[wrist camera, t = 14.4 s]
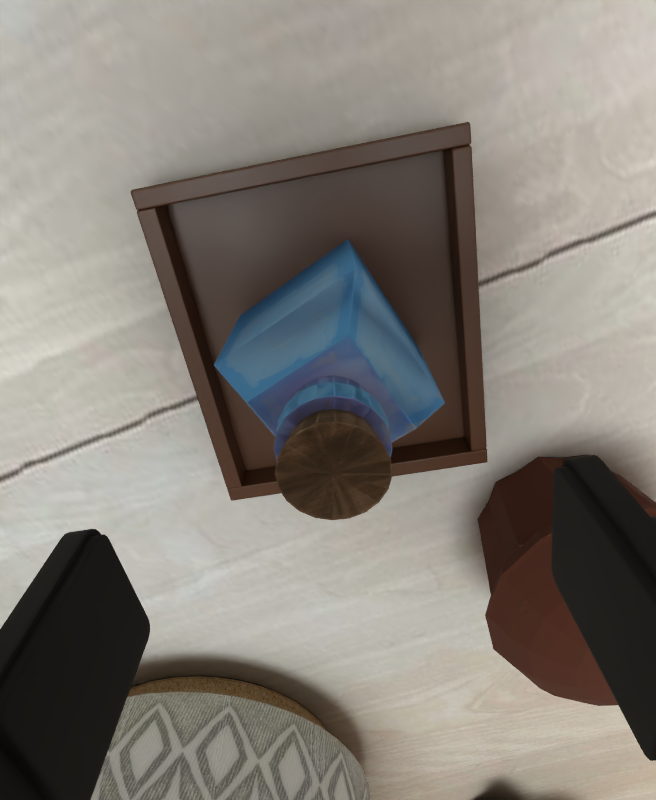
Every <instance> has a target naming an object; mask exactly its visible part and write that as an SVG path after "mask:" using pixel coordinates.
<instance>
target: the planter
mask: <svg viewBox="0 0 656 800" xmlns="http://www.w3.org/2000/svg"><path fill="white" fill-rule="evenodd" d="M91 800H370V795H369V786H368V782H367V779H366V776H365V774H364V771H363V769H362V767H361V765H360V764H359V762H358V761H357V760H356V758H355V757H354V755H353V754H352V752H350V751H349V750H348V749H347V748H346V747H345V746H344V745H343V744H342V743H341V742H340V741H339V740H338V739H337V738H336V737H334V736H333V735H331V734H330V733H329V732H327V731H326V730H325V728H324V727H323V725H322V724H321V723H320V721H318V720H317V719H316V718H315V717H314V716H313V715H312V714H311V713H310V712H309V711H308V710H306V709H305V708H303V707H302V706H301V705H299V704H298V703H296V702H295V701H293V700H291V699H289V698H287V697H285V696H283V695H281V694H279V693H277V692H275V691H272V690H269V689H267V688H264V687H261V686H259V685H255V684H251V683H247V682H243V681H239V680H232V679H225V678H218V677H199V676H191V677H175V678H168V679H162V680H156V681H151V682H148V683H145V684H141V685H138V686H135V687H132V688H130V691H129V694H128V697H127V699H126V702H125V705H124V708H123V711H122V713H121V716H120V719H119V722H118V725H117V727H116V730H115V733H114V736H113V739H112V741H111V744H110V747H109V750H108V752H107V755H106V758H105V761H104V764H103V766H102V769H101V772H100V775H99V778H98V780H97V783H96V786H95V789H94V792H93V794H92V797H91Z"/></svg>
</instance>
